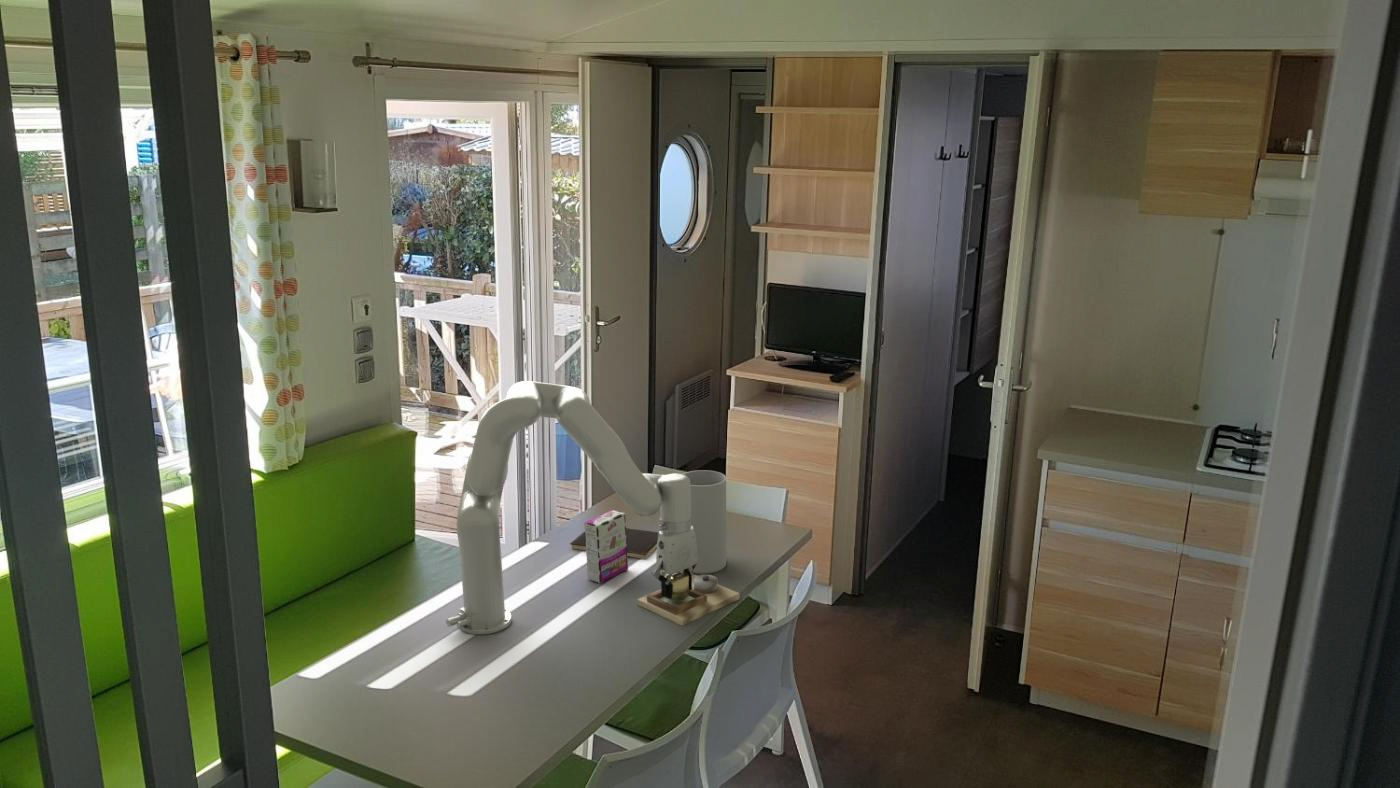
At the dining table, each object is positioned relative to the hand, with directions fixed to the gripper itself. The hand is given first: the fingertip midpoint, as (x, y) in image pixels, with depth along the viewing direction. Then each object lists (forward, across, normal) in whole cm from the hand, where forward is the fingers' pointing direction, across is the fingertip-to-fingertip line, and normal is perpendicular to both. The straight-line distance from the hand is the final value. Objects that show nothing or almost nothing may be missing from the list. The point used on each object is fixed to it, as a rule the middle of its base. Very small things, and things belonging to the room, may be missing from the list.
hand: (676, 592), depth 254 cm
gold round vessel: (+1, 0, 0) cm, 1 cm away
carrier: (+4, +4, 0) cm, 6 cm away
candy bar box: (+4, 0, +27) cm, 27 cm away
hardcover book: (+5, +16, +41) cm, 44 cm away
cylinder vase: (+4, +22, +13) cm, 26 cm away
